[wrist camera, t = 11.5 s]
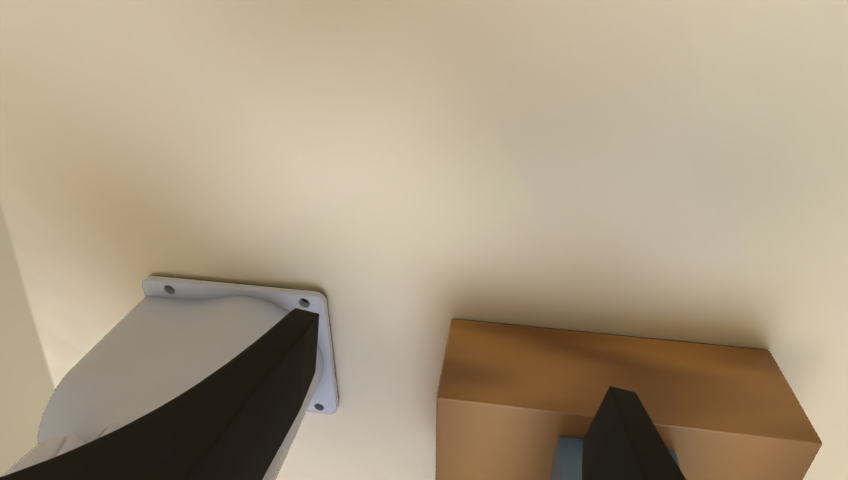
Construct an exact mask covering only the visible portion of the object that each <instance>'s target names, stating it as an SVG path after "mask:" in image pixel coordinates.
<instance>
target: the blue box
mask: <svg viewBox="0 0 848 480" xmlns="http://www.w3.org/2000/svg"><path fill="white" fill-rule="evenodd" d="M582 448H583V439H579V438H571V437H563V436H558V440H557V445H556V451H555V457H554V462H553V468H552V473H551V479H550V480H582ZM669 452H670V453H671V455H672V457H673V458H674V460H675V462H676V463H677V465H678V467H679V468H680V466H679V462H678V459H677V455H676V452H675V451H674V450H669ZM680 470H681V469H680Z"/></svg>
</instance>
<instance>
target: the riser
mask: <svg viewBox="0 0 848 480" xmlns="http://www.w3.org/2000/svg"><path fill="white" fill-rule="evenodd" d="M610 386H612V387H616V388H620V389H624V390H629V391H633V392H636V394H637V395H638V397H639V399H640V401H641V402H642V404H643V406H644V408H645V409H646V411H647V413H648V415H649V417H650V418H651V420H652V422H653V424H654V426H655V427H656V429H657V431H658V433H659V434H660V436H661V438H662V440H663V441H664V443H665V445H666V447H667V448H668V450H674V451H675V452H676V455H677V459H678V462H679V466H680V469H681V472H682V473H683V475H684V476H685V478H686V480H803V478H804V476H805V474H806V472H807V471H808V469H809V467H810V465H811V463H812V461H813V460H814V458H815V456H816V454H817V452H818V450H819V449H820V447H821V445H822V442H821V440H820V438H819V436H818V435H817V433H816V431H815V429H814V428H813V426H812V424H811V422H810V421H809V419H808V417H807V415H806V414H805V412H804V410H803V408H802V407H801V405H800V403H799V401H798V400H797V398H796V396H795V394H794V393H793V391H792V389H791V387H790V386H789V384H788V382H787V380H786V379H785V377H784V375H783V374H782V372H781V370H780V368H779V367H778V365H777V363H776V361H775V360H774V358H773V356H772V354H771V353H770V351H768V350H759V349H749V348H739V347H729V346H719V345H709V344H699V343H689V342H679V341H669V340H659V339H649V338H639V337H629V336H618V335H608V334H598V333H588V332H578V331H568V330H558V329H548V328H538V327H528V326H518V325H508V324H498V323H488V322H478V321H468V320H457V319H452V320H451V324H450V329H449V334H448V339H447V345H446V350H445V355H444V361H443V366H442V371H441V376H440V382H439V387H438V392H437V408H436V480H550V479H551V473H552V468H553V462H554V457H555V451H556V445H557V440H558V436H563V437H571V438H579V439H584V437H585V435H586V433H587V431H588V429H589V427H590V425H591V423H592V421H593V419H594V417H595V415H596V413H597V411H598V409H599V407H600V405H601V403H602V401H603V399H604V397H605V395H606V393H607V391H608V389H609V387H610Z"/></svg>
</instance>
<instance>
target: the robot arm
mask: <svg viewBox="0 0 848 480" xmlns="http://www.w3.org/2000/svg"><path fill="white" fill-rule="evenodd" d="M170 286H171V287H172V288H173V289H172V288H171V287H170ZM142 287H143V290H144V293H145V296H146V297H145V298H144V299H143V300H142V301H140V302H139V303H138V304H137V305H136V306H135V307H134V308H133V309H132V310H131V311H130V312H129V313H128V314H127V315H126V316H125V317H124V318H123V319H122V320H121V321H120V322H119V323H118V324H117V325H116V326H115V327H114V328H113V329H112V330H111V331H110V332H109V333H108V334H107V335H106V336H105V337H104V338H103V339H102V340H101V341H100V342H99V343H97V344H96V345H95V346H94V347H93V348H92V349H91V350H90V351H89V352H88V353H87V354H86V355H85V356H84V357H83V358H82V359H81V360H80V361H79V362H78V363H77V364H76V365H75V366H74V367H73V368H72V369H71V370H70V371H69V372H68V373H67V374H66V375H65V377H64V378H63V379H62V380H61V382H60V383H59V385H58V386H57V387H56V389H55V391H54V393H53V394H52V396H51V398H50V400H49V402H48V404H47V406H46V409H45V411H44V413H43V416H42V419H41V423H40V426H39V431H38V445H36V446H35V447H34V448H33V449H31V450H30V451H29V452H28V453H27V454H26V455H24V456H23V457H22V458H21V459H20V460H19V461H18V462H17V463H16V464H14V465H13V466H12V467H11V468H10V469H9V470H8V471H7V472H6V473H5V474H4V475H3V476H1V477H0V480H276V478H277V475H278V473H279V471H280V469H281V467H282V464H283V462H284V460H285V458H286V455H287V453H288V451H289V449H290V447H291V444H292V442H293V440H294V438H295V436H296V433H297V431H298V429H299V427H300V424H301V422H302V420H303V418H304V416H305V413H306V411H310V412H317V413H325V414H333V413H335V412H336V411H337V409H338V406H339V401H338V393H337V384H336V376H335V367H334V359H333V350H332V341H331V333H330V324H329V316H328V307H327V300H326V297H325V296H324V295H323V294H321V293H320V292H316V291H307V290H296V289H286V288H275V287H265V286H254V285H244V284H233V283H223V282H212V281H202V280H191V279H181V278H170V277H160V276H148V277H147V278H146V279H145V280H144V281H143V282H142ZM303 299H306V300H308V301H309V303H307V302H305V301H303ZM582 480H686V478H685V476H684V475H683V473H682V472H681V470H680V468H679V467H678V465H677V463H676V462H675V460H674V458H673V457H672V455H671V453H670V452H669V450H668V448H667V447H666V445H665V443H664V441H663V440H662V438H661V436H660V434H659V433H658V431H657V429H656V427H655V426H654V424H653V422H652V420H651V418H650V417H649V415H648V413H647V411H646V409H645V408H644V406H643V404H642V402H641V401H640V399H639V397H638V395H637V394H636V392H633V391H629V390H624V389H620V388H616V387H612V386H610V387H609V389H608V391H607V393H606V395H605V397H604V399H603V401H602V403H601V405H600V407H599V409H598V411H597V413H596V415H595V417H594V419H593V421H592V423H591V425H590V427H589V429H588V431H587V433H586V435H585V437H584V439H583V448H582Z"/></svg>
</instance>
